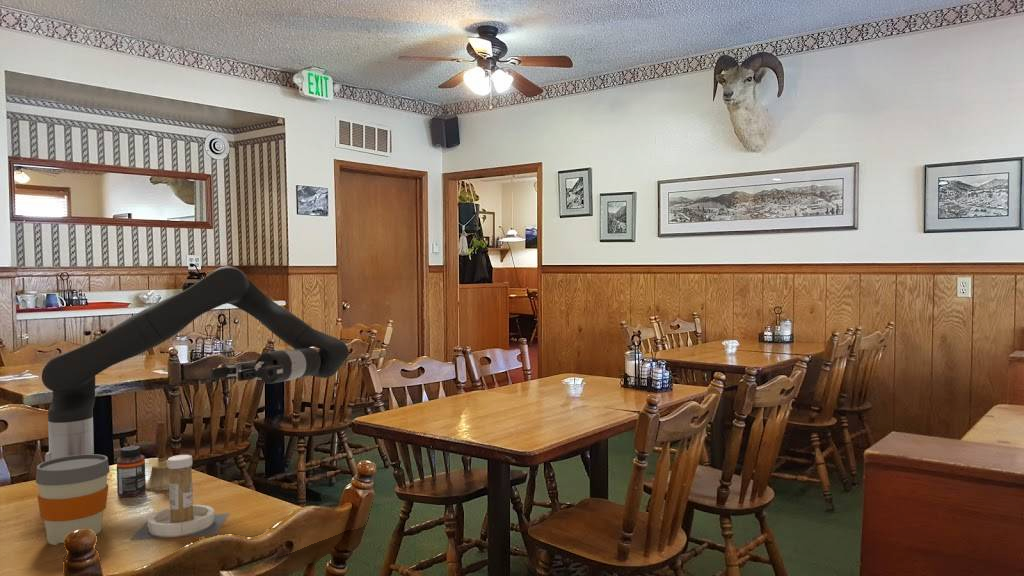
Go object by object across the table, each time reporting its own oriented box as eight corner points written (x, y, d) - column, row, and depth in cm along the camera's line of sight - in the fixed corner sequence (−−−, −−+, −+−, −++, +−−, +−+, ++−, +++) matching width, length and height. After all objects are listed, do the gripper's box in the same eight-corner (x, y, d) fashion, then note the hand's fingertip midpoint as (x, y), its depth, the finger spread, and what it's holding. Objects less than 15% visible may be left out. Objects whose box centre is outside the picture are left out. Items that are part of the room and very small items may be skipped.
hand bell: (186, 485, 173) (185, 421, 172) (151, 493, 166) (150, 427, 166) (172, 479, 178) (170, 416, 178) (137, 487, 172) (136, 422, 171)
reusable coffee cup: (32, 553, 131) (30, 474, 131) (41, 532, 142) (39, 458, 142) (109, 541, 137) (107, 465, 136) (112, 521, 148) (110, 451, 147)
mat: (129, 543, 136) (129, 540, 136) (149, 521, 147) (149, 518, 147) (216, 536, 139) (216, 533, 138) (229, 516, 150) (229, 513, 150)
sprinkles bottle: (195, 522, 142) (193, 457, 142) (171, 527, 140) (169, 461, 140) (192, 516, 146) (190, 452, 146) (168, 521, 144) (165, 456, 143)
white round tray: (140, 539, 136) (139, 527, 136) (159, 518, 148) (159, 506, 148) (205, 534, 138) (205, 522, 138) (219, 514, 150) (219, 502, 150)
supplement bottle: (124, 491, 168) (123, 444, 168) (150, 490, 168) (149, 444, 168) (112, 499, 162) (111, 451, 162) (139, 498, 163) (138, 450, 162)
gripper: (260, 348, 171) (203, 356, 157) (303, 351, 165) (247, 359, 150) (261, 379, 172) (204, 389, 157) (303, 383, 165) (248, 394, 150)
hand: (225, 374), depth 154 cm, fingers open, 8 cm apart
